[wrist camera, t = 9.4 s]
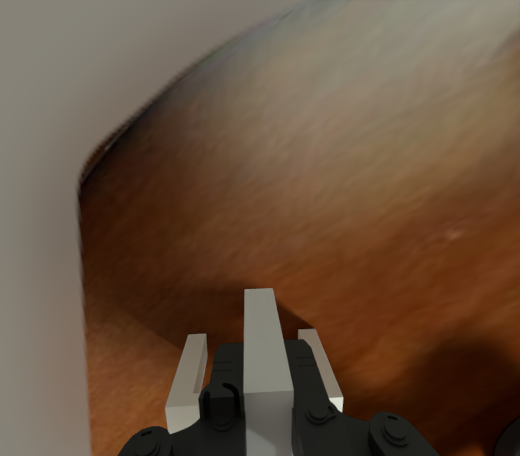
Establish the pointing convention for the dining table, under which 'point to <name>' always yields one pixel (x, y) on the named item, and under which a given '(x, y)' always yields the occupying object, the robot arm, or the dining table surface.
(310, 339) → the bridge
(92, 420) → the dining table surface
